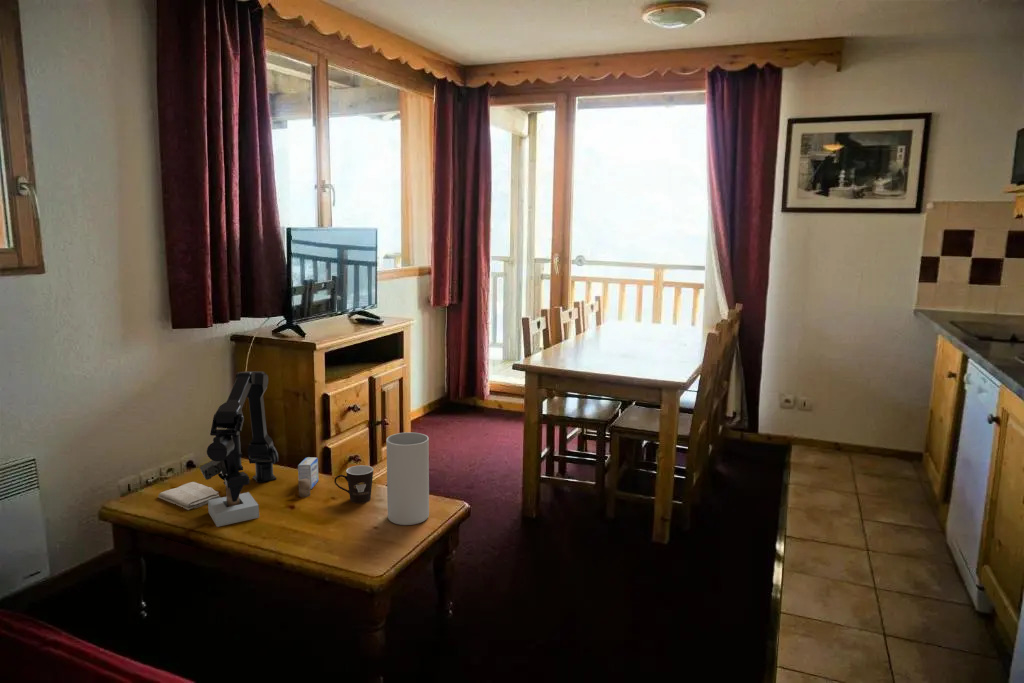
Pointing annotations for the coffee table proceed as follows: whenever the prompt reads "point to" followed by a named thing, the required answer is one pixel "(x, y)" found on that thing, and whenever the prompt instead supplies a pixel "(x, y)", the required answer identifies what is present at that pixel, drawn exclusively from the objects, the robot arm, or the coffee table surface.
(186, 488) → the washcloth
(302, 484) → the short dowel
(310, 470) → the medicine box
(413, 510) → the cylinder vase
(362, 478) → the coffee mug
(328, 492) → the coffee table surface
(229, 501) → the long dowel
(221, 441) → the robot arm
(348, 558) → the coffee table surface
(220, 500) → the socket block
